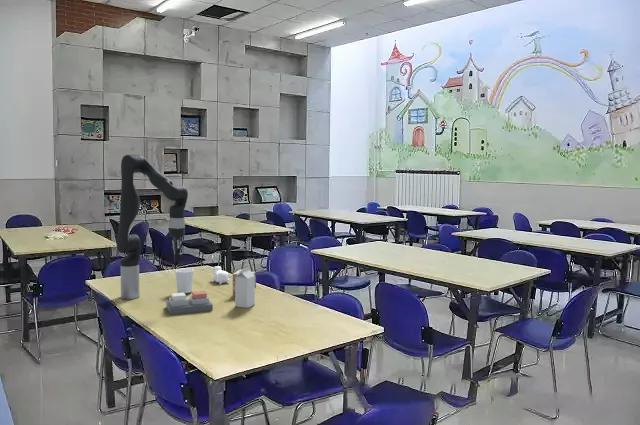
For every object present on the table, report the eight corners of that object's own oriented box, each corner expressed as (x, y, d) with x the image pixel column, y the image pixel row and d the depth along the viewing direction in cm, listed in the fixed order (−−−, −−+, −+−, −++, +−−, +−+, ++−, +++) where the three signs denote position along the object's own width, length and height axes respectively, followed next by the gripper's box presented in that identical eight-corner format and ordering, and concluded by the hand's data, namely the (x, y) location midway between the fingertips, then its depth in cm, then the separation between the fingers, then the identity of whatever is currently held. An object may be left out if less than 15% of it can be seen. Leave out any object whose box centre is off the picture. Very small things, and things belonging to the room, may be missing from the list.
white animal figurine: (230, 287, 313) (221, 274, 324) (232, 275, 309) (223, 262, 320) (216, 289, 308) (208, 275, 319) (218, 277, 305) (210, 263, 316)
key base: (170, 314, 246) (170, 303, 245) (166, 307, 259) (166, 296, 258) (212, 310, 254) (212, 299, 253) (206, 303, 267) (206, 292, 266)
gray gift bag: (245, 286, 304) (245, 265, 302) (256, 287, 302) (256, 266, 301) (232, 295, 283) (232, 273, 282) (243, 296, 282) (243, 274, 280)
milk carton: (254, 304, 265) (254, 268, 263) (247, 308, 259) (247, 270, 257) (242, 303, 268) (243, 266, 266) (235, 306, 262) (235, 269, 260)
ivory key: (173, 302, 250) (173, 296, 250) (171, 299, 255) (171, 293, 255) (186, 301, 252) (185, 295, 252) (184, 298, 258) (183, 292, 257)
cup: (183, 296, 280) (182, 272, 279) (171, 293, 286) (171, 270, 284) (197, 292, 288) (197, 270, 286) (186, 289, 294) (186, 267, 292)
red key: (194, 300, 254) (194, 294, 254) (192, 297, 259) (192, 291, 259) (206, 299, 256) (206, 293, 256) (204, 296, 262) (204, 290, 261)
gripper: (167, 224, 261) (167, 258, 263) (170, 228, 249) (170, 264, 251) (182, 224, 264) (182, 258, 266) (186, 228, 252) (186, 263, 254)
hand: (176, 261), depth 258 cm, fingers closed
